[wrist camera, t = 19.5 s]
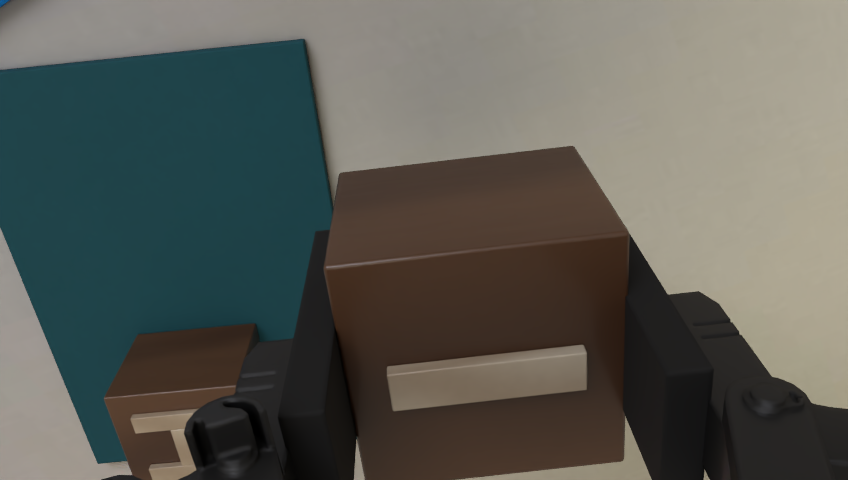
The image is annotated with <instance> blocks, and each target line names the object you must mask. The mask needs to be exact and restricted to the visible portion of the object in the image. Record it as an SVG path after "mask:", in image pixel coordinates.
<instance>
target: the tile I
mask: <svg viewBox="0 0 848 480" xmlns="http://www.w3.org/2000/svg"><path fill="white" fill-rule="evenodd" d="M323 270H324V275H325V280H326V285H327V290H328V295H329V300H330V305H331V310H332V315H333V320H334V325H335V330H336V336H337V341H338V346H339V351H340V356H341V361H342V366H343V371H344V376H345V381H346V386H347V391H348V396H349V401H350V406H351V411H352V416H353V421H354V426H355V431H356V437H357V442H358V447H359V452H360V457H361V462H362V467H363V472H364V477H365V480H456V479H465V478H474V477H484V476H493V475H502V474H511V473H520V472H529V471H538V470H548V469H557V468H566V467H575V466H584V465H593V464H602V463H611V462H621V461H623V459H624V442H625V413H624V411H623V381H624V335H625V296H628V275H629V232H628V230H627V228H626V227H625V225H624V224H623V222H622V221H621V219H620V218H619V216H618V214H617V213H616V211H615V210H614V208H613V207H612V205H611V203H610V202H609V200H608V199H607V197H606V196H605V194H604V192H603V191H602V189H601V188H600V186H599V185H598V183H597V181H596V180H595V178H594V177H593V175H592V174H591V172H590V171H589V169H588V167H587V166H586V164H585V163H584V161H583V160H582V158H581V156H580V155H579V153H578V152H577V150H576V149H575V147H573V146H567V147H559V148H550V149H542V150H533V151H524V152H516V153H507V154H498V155H490V156H481V157H473V158H464V159H455V160H447V161H438V162H430V163H421V164H412V165H404V166H395V167H386V168H378V169H369V170H361V171H352V172H343V173H340V174H339V178H338V184H337V190H336V196H335V202H334V208H333V214H332V220H331V226H330V232H329V238H328V244H327V250H326V256H325V262H324V268H323Z"/></svg>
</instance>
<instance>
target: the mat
mask: <svg viewBox="0 0 848 480" xmlns="http://www.w3.org/2000/svg"><path fill="white" fill-rule="evenodd" d="M332 214H333V204H332V198H331V192H330V186H329V180H328V174H327V168H326V163H325V157H324V151H323V145H322V139H321V133H320V127H319V121H318V115H317V109H316V103H315V97H314V91H313V86H312V80H311V74H310V68H309V62H308V56H307V50H306V44H305V40H304V39H298V40H289V41H279V42H269V43H260V44H250V45H240V46H230V47H221V48H211V49H201V50H192V51H182V52H172V53H162V54H153V55H143V56H133V57H124V58H114V59H104V60H94V61H85V62H75V63H65V64H56V65H46V66H36V67H26V68H17V69H7V70H0V228H1V230H2V232H3V235H4V237H5V240H6V242H7V245H8V247H9V249H10V252H11V254H12V257H13V259H14V262H15V264H16V266H17V269H18V271H19V274H20V276H21V278H22V281H23V283H24V286H25V288H26V291H27V293H28V295H29V298H30V300H31V303H32V305H33V308H34V310H35V312H36V315H37V317H38V320H39V322H40V325H41V327H42V329H43V332H44V334H45V337H46V339H47V342H48V344H49V346H50V349H51V351H52V354H53V356H54V359H55V361H56V363H57V366H58V368H59V371H60V373H61V376H62V378H63V380H64V383H65V385H66V388H67V390H68V393H69V395H70V397H71V400H72V402H73V405H74V407H75V410H76V412H77V414H78V417H79V419H80V422H81V424H82V427H83V429H84V431H85V434H86V436H87V439H88V441H89V444H90V446H91V448H92V451H93V453H94V456H95V458H96V461H97V463H98V464H100V463H110V462H121V461H127V459H126V456H125V454H124V451H123V448H122V446H121V443H120V440H119V438H118V435H117V433H116V430H115V427H114V425H113V422H112V420H111V417H110V414H109V412H108V409H107V406H106V404H105V401H104V396H105V395H106V393H107V391H108V389H109V387H110V385H111V383H112V381H113V380H114V378H115V376H116V374H117V372H118V370H119V368H120V366H121V365H122V363H123V361H124V359H125V357H126V355H127V353H128V351H129V350H130V348H131V346H132V344H133V342H134V340H135V338H136V336H137V335H138V334H147V333H158V332H168V331H179V330H189V329H200V328H210V327H221V326H231V325H242V324H252V323H255V324H256V327H257V331H258V336H259V340H260V342H265V341H274V340H283V339H292V338H294V333H295V329H296V324H297V319H298V314H299V309H300V304H301V299H302V294H303V289H304V285H305V280H306V275H307V270H308V265H309V260H310V255H311V250H312V245H313V241H314V236H315V231H321V230H330V226H331V220H332ZM356 439H357V437H356Z"/></svg>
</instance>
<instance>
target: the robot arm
mask: <svg viewBox="0 0 848 480" xmlns="http://www.w3.org/2000/svg"><path fill="white" fill-rule="evenodd" d="M607 199H608V198H607ZM612 207H613V206H612ZM329 232H330V230H321V231H315V236H314V241H313V245H312V250H311V255H310V260H309V265H308V270H307V275H306V280H305V285H304V289H303V294H302V299H301V304H300V309H299V314H298V319H297V324H296V329H295V333H294V338H292V339H283V340H274V341H265V342H258V343H257V345H256V346H255V347H254V348H253V349H252V350H251V351H250V352H249V354H248V355H247V356H246V357H245V358H244V361H243V364H242V368H241V371H240V374H239V379H238V381H237V385H236V388H235V393H234V395H230V396H224V397H221V398H218V399H216V400H213V401H211V402H208V403H206V404H205V405H204V406H202V407H201V408H199V409H198V410H197V411H195V412H194V413H193V415H192V416H191V417H190V419H189V420H188V421H187V422H186V426H185V430H184V435H185V438H186V441H187V444H188V447H189V450H190V453H191V456H192V459H193V462H194V465H195V467H196V471H194V472H192V473H191V474H189V475H187V476H185V477H183V478H180V479H178V480H354V466H355V450H356V431H355V426H354V421H353V416H352V411H351V406H350V401H349V396H348V391H347V386H346V381H345V376H344V371H343V366H342V361H341V356H340V351H339V346H338V341H337V336H336V330H335V325H334V320H333V315H332V310H331V305H330V300H329V295H328V290H327V285H326V280H325V275H324V270H323V268H324V262H325V256H326V250H327V244H328V238H329ZM623 411H624V413H625V416H626V418H627V421H628V423H629V425H630V428H631V430H632V433H633V435H634V438H635V440H636V442H637V445H638V447H639V450H640V452H641V454H642V457H643V459H644V462H645V464H646V467H647V469H648V471H649V474H650V476H651V479H652V480H703V479H704V469H705V471H706V473H707V475H708V477H709V479H710V480H848V409H842V408H833V407H826V406H821V405H816V404H813V403H811V402H810V400H809V399H808V397H807V395H806V394H805V393H804V392H803V391H801V390H800V389H799V388H797V387H796V386H795V385H793V384H791V383H789V382H786V381H784V380H781V379H779V378H775V377H772V376H771V375H770V374H769V372H768V371H767V370H766V368H765V367H764V365H763V364H762V363H761V361H760V360H759V359H758V357H757V356H756V354H755V353H754V352H753V350H752V349H751V348H750V346H749V345H748V343H747V342H746V341H745V339H744V338H743V337H742V335H740V334H739V331H738V330H737V328H736V327H735V325H734V324H733V323H731V322H730V319H729V317H728V316H727V314H726V313H725V312H724V310H723V309H722V308H721V306H720V305H719V304H718V303H717V302H715V301H713V300H712V299H710V298H709V297H707V296H705V295H704V294H702V293H701V292H699V291H698V292H689V293H680V294H671V295H668V294H667V293H666V291H665V290H664V288H663V286H662V285H661V283H660V282H659V280H658V278H657V277H656V275H655V274H654V272H653V270H652V269H651V267H650V266H649V264H648V262H647V261H646V259H645V258H644V256H643V254H642V253H641V251H640V250H639V248H638V246H637V245H636V243H635V242H634V240H633V238H632V237H631V235H630V234H629V275H628V296H625V335H624V381H623ZM102 480H142V479H140V478H137V477H135V476H133V475H117V476H113V477H109V478H106V479H102Z"/></svg>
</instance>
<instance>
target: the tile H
mask: <svg viewBox="0 0 848 480" xmlns="http://www.w3.org/2000/svg"><path fill="white" fill-rule="evenodd" d="M258 342H260V340H259V336H258V331H257V327H256V324H255V323H252V324H242V325H231V326H221V327H210V328H200V329H189V330H179V331H168V332H158V333H147V334H138V335H137V336H136V338H135V340H134V342H133V344H132V346H131V348H130V350H129V351H128V353H127V355H126V357H125V359H124V361H123V363H122V365H121V366H120V368H119V370H118V372H117V374H116V376H115V378H114V380H113V381H112V383H111V385H110V387H109V389H108V391H107V393H106V395H105V396H104V401H105V404H106V406H107V409H108V412H109V414H110V417H111V420H112V422H113V425H114V427H115V430H116V433H117V435H118V438H119V440H120V443H121V446H122V448H123V451H124V454H125V456H126V459H127V461H128V464H129V467H130V469H131V472H132V475H133V476H135V477H137V478H140V479H142V480H178V479H180V478H183V477H185V476H187V475H189V474H191V473H192V472H194V471H196V467H195V465H194V462H193V459H192V456H191V453H190V450H189V447H188V444H187V441H186V438H185V435H184V430H185V426H186V422H187V421H188V420H189V419H190V417H191V416H192V415H193V413H194V412H195V411H197V410H198V409H199V408H201V407H202V406H204V405H205V404H206V403H208V402H211V401H213V400H216V399H218V398H221V397H224V396H230V395H234V393H235V388H236V385H237V381H238V379H239V374H240V371H241V368H242V364H243V361H244V358H245V357H246V356H247V355H248V354H249V352H250V351H251V350H252V349H253V348H254V347H255V346H256V345H257V343H258Z"/></svg>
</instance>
